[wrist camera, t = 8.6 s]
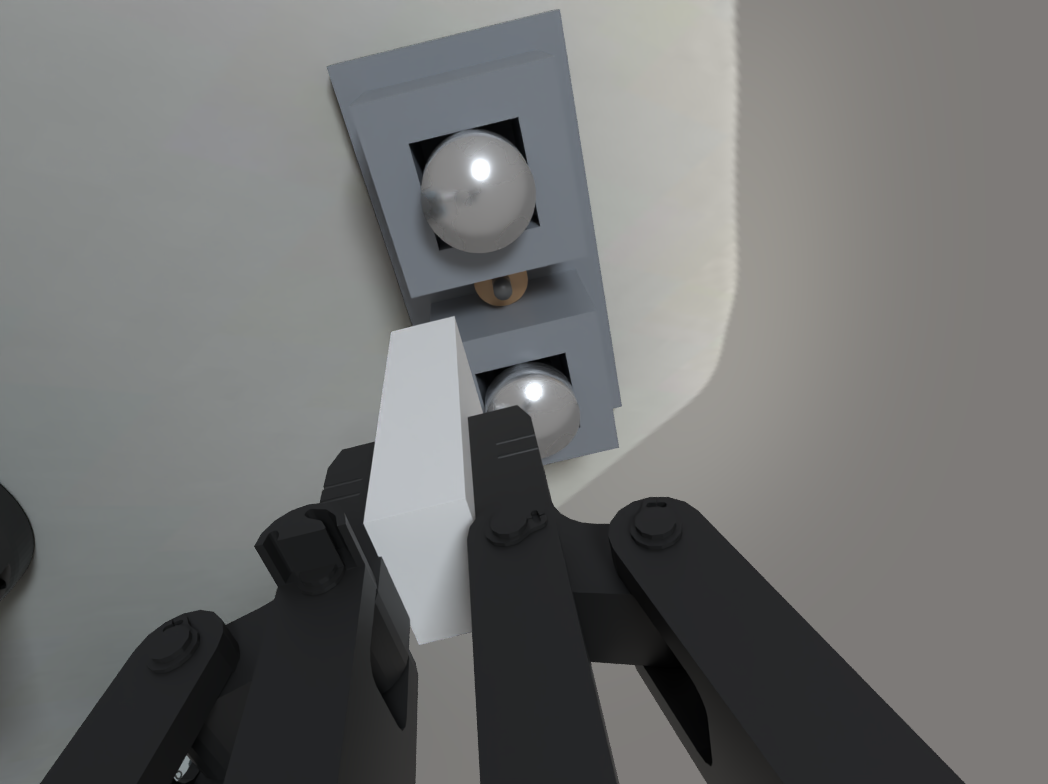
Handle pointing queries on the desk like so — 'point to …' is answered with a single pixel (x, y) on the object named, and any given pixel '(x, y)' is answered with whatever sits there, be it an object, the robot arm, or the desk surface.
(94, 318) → the desk surface
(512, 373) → the knob
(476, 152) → the knob
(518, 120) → the mount
